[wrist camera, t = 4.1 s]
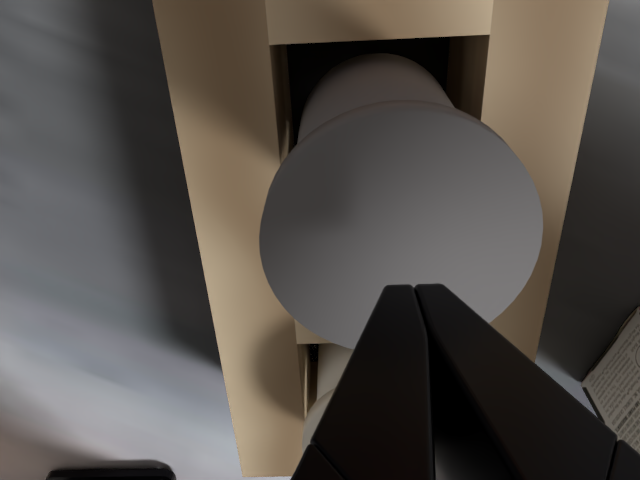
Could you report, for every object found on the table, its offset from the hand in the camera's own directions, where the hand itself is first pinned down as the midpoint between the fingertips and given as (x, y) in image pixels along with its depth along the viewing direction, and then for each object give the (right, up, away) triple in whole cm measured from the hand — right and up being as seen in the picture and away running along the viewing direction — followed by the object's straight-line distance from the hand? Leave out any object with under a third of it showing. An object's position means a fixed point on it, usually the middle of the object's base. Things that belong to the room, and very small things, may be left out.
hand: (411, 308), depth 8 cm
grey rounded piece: (0, +4, +6) cm, 8 cm away
